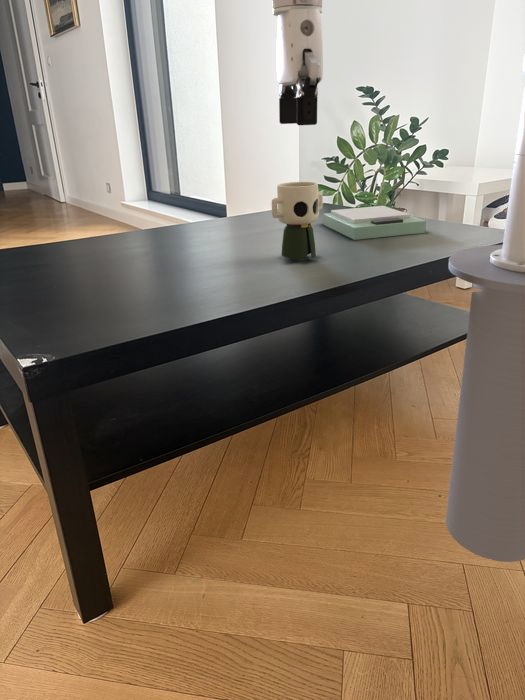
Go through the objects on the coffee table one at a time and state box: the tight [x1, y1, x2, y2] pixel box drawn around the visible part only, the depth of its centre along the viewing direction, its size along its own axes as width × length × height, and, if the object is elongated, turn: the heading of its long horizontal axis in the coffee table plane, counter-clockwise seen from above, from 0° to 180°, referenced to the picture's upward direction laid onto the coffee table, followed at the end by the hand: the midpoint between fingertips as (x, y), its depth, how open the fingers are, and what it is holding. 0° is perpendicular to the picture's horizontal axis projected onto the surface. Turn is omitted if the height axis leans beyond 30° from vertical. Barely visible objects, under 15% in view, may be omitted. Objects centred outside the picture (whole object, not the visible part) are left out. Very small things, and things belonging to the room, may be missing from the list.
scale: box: [322, 205, 427, 241], centre depth 120 cm, size 18×16×3 cm
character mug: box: [271, 181, 324, 261], centre depth 96 cm, size 11×7×13 cm, turn 124°
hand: (297, 124), depth 90 cm, fingers open, 9 cm apart
